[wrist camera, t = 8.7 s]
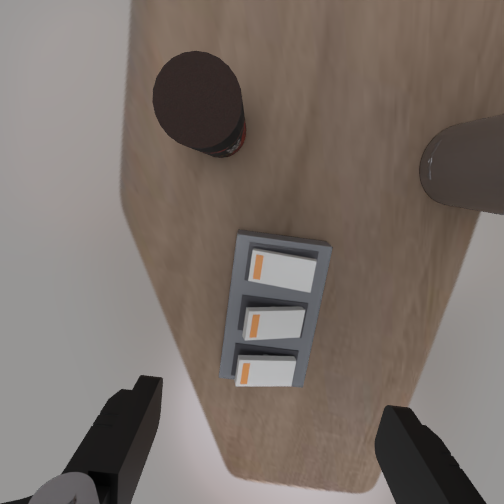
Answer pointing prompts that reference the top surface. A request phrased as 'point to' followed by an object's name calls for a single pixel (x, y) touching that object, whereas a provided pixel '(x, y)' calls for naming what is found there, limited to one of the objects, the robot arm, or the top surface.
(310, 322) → the rocker switch panel
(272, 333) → the rocker
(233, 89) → the deodorant
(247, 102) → the top surface
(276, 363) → the rocker
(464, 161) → the robot arm
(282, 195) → the top surface
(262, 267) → the rocker
